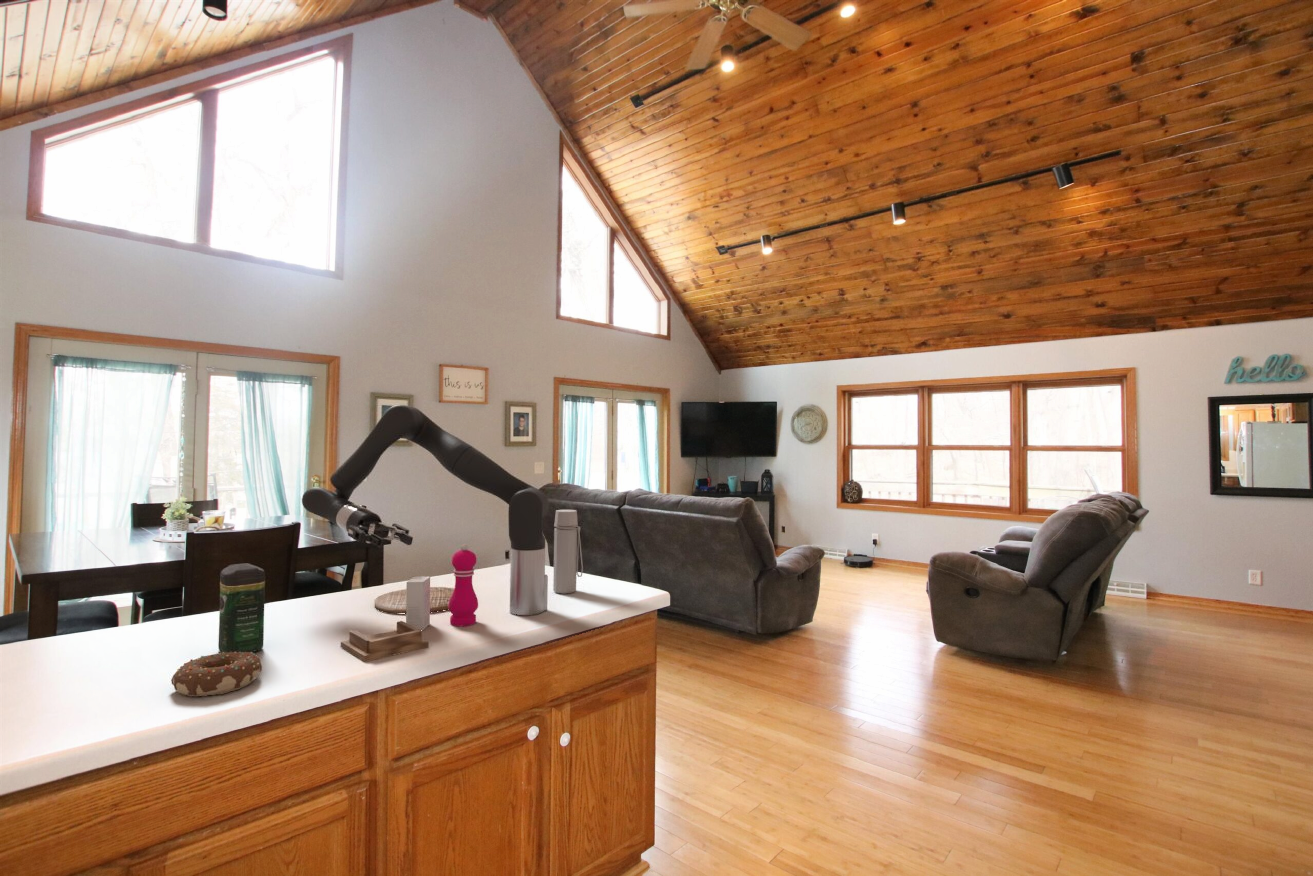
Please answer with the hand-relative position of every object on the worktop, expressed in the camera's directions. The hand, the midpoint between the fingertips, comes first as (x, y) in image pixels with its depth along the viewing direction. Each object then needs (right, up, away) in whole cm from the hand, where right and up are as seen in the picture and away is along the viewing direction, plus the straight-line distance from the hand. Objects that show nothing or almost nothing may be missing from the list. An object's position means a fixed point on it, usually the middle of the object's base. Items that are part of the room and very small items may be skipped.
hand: (397, 542), depth 159 cm
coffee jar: (-25, -20, -21) cm, 39 cm away
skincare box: (+6, -21, -3) cm, 22 cm away
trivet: (-1, -21, +21) cm, 30 cm away
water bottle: (+38, -21, +36) cm, 56 cm away
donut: (-17, -20, -40) cm, 48 cm away
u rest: (+5, -20, -18) cm, 27 cm away
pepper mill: (+16, -21, +2) cm, 26 cm away
